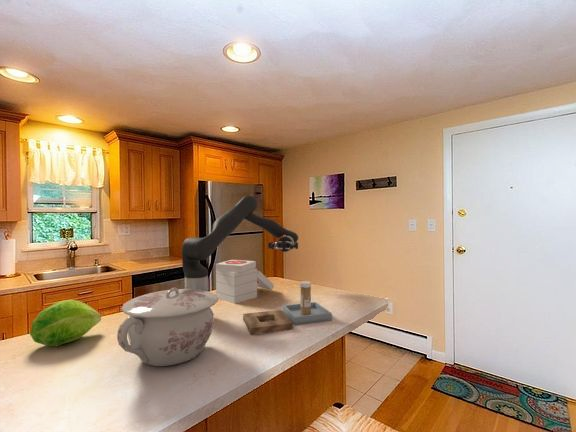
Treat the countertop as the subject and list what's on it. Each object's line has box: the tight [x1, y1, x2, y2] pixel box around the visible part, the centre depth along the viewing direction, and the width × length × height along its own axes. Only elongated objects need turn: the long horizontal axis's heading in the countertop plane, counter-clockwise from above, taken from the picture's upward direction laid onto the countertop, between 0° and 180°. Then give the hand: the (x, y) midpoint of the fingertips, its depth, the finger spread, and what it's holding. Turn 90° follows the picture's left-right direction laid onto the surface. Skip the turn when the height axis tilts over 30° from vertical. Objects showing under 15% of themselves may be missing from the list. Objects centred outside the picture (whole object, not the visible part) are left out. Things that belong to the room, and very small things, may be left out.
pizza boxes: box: [215, 259, 275, 305], centre depth 158 cm, size 19×30×18 cm, turn 139°
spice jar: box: [299, 280, 312, 315], centre depth 126 cm, size 5×5×14 cm
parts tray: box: [281, 301, 333, 326], centre depth 126 cm, size 16×16×3 cm
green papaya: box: [29, 299, 102, 347], centre depth 102 cm, size 15×20×14 cm
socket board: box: [242, 309, 294, 336], centre depth 116 cm, size 16×16×2 cm
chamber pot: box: [116, 286, 219, 367], centre depth 91 cm, size 28×28×21 cm
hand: (281, 247), depth 136 cm, fingers open, 8 cm apart
